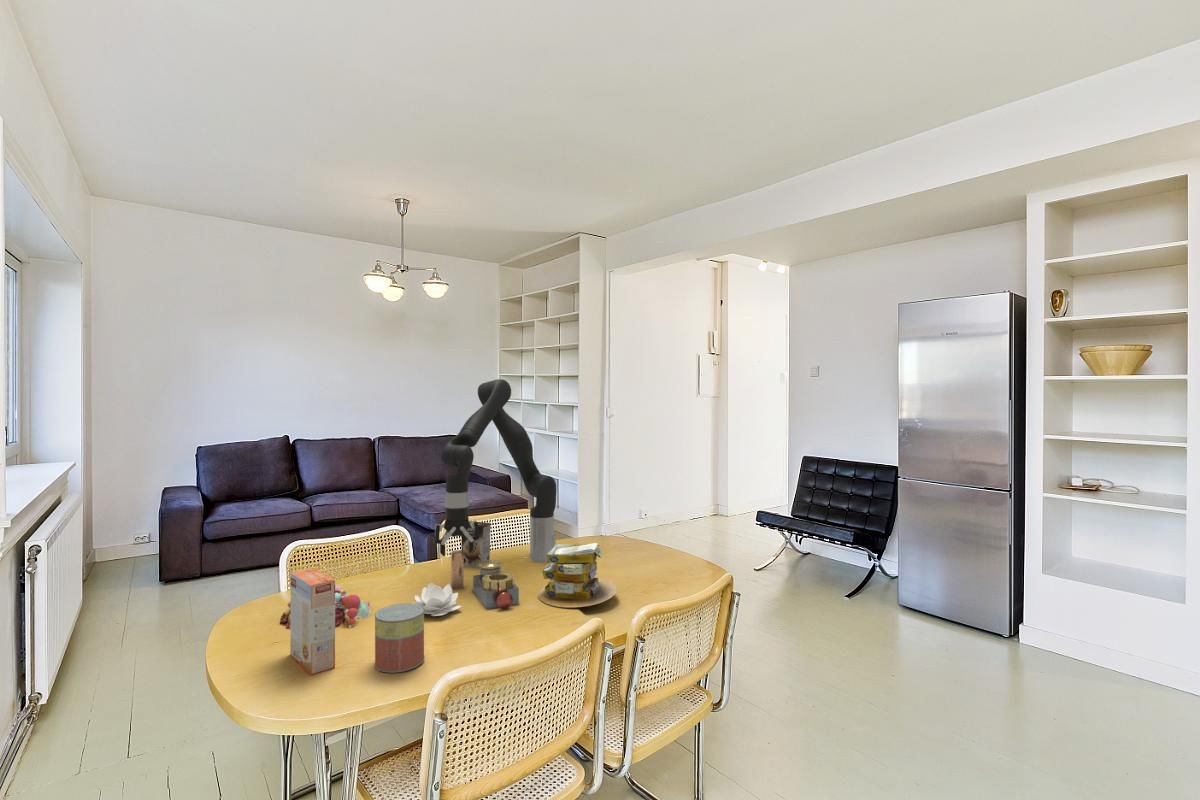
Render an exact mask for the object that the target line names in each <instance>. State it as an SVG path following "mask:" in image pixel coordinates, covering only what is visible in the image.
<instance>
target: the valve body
mask: <svg viewBox="0 0 1200 800" xmlns="http://www.w3.org/2000/svg"><path fill="white" fill-rule="evenodd" d="M479 567H480V570H479V571H480V574H476V575H472V592H473V594H474V595H475V596H476V597H477V599H478V601H479V602H480V603H481V604H482V605H483V607H484V608H485V610H489V609H496V608H499V609H500V610H501V609H502V610H507V609H509V608H510V607H511V606H514V605H515V606H517V605H519V602H520V601H519V598H520V597H519V596H520V595H519V593H520V592H519V587H518V585H516V583H515V575H514V574H512V573H509V572H504V571H502V567H503V562H502V561H501V560H496V559H490V560H488V561H483V562H480V563H479Z"/></svg>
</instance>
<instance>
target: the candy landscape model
mask: <svg viewBox="0 0 1200 800" xmlns="http://www.w3.org/2000/svg"><path fill="white" fill-rule="evenodd" d="M287 607H288V609H286V610H285V611H283V613H282V614H281V617H280V621H279V624H281V625H280V626H282V627H285V629H286V630H291V600H290V601H289V602H288V604H287ZM370 616H371V608H370V601H368V602H367V601H366V602H365V601H363V599H361V598H360V597H359V596H358V595H357V594H350V595H348V593H347V591H345V590H344V589H342V587H341V586H340V585H336V584H335V628H340V627H341V625H342V624H344V623H345V622H346V618H348V619H347V624H348V628H349V629H351V628H353V627H354V626H355V623H356V619H365V618H368V617H370Z"/></svg>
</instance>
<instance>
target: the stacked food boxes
mask: <svg viewBox="0 0 1200 800" xmlns="http://www.w3.org/2000/svg"><path fill="white" fill-rule="evenodd" d="M601 549H602V548H601V547H600V545H599V543H598V542H593V543H586V544H585V543H584V544H581V543H580V544H579V543H575V544H556V545H555V546H554V547H553V548H552V549H551V550H550V551H549V552H548V554H547V558H548V562H547V563H548V564H547V565H546V566H545V567H544V568H542V575H543V579H544V580H549V581H548V583H547V584H546V585H544V586H543V587H542V588H540V589H539V591H538V593H537V598H538V599H539V600H540V601H541V602H542V603H544V604H546V605H549V606H552V607H558V608H582V607H590V606H594V605H597V604H598V605H599V604H601V603H605V602H606V601H608V600H609V599H611V598H612V597H614V596H615V594H616V593H617V586H616V585H615V584H614V583H613V582H611V581H610V580H607V579H605V578H600V577H596V575H597V570H598V564H597V561H598V558H602V556H603V551H602V550H601Z"/></svg>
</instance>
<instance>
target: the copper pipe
mask: <svg viewBox="0 0 1200 800" xmlns="http://www.w3.org/2000/svg"><path fill="white" fill-rule="evenodd" d="M450 555H451V556H450V557H451V559H450V562H451V564H450V566H451V567H450V570H451V571H450V572H451V573H450V576H451V577H450V581H451V584H450V586H451V588H452V590H455V591H456V590H457V591H459V590H462V589H464V588H465V587H464V586H465V585H464V583H465V580H464V578H465V577H464V576H465V573H464V571H465V567H464V551H462V550H461V549H460V550H459V549H457V550H452V551H451V553H450Z"/></svg>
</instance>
